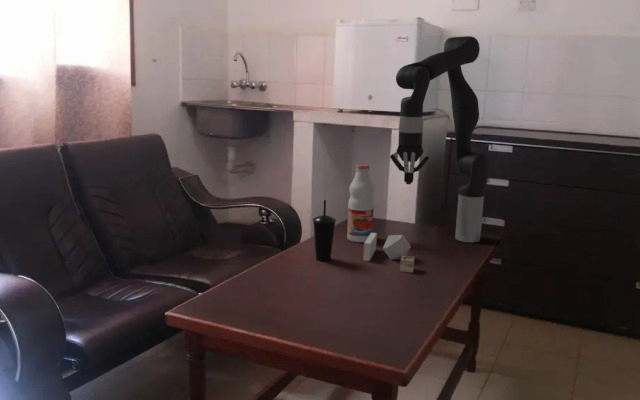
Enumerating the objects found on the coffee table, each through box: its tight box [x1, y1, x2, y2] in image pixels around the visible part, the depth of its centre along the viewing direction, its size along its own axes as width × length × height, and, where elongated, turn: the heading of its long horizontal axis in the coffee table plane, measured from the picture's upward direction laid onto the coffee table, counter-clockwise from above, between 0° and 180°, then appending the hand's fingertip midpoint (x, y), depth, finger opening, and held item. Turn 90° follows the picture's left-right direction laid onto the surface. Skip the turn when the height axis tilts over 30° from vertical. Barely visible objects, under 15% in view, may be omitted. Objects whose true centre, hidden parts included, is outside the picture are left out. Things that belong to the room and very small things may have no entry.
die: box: [382, 234, 412, 261], centre depth 206 cm, size 8×9×10 cm
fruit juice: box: [346, 163, 375, 243], centre depth 225 cm, size 9×9×28 cm
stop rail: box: [362, 232, 378, 262], centre depth 209 cm, size 14×2×6 cm, turn 166°
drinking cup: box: [312, 199, 337, 262], centre depth 201 cm, size 8×8×20 cm
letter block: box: [399, 255, 415, 274], centre depth 195 cm, size 4×4×4 cm
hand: (408, 183), depth 199 cm, fingers closed
